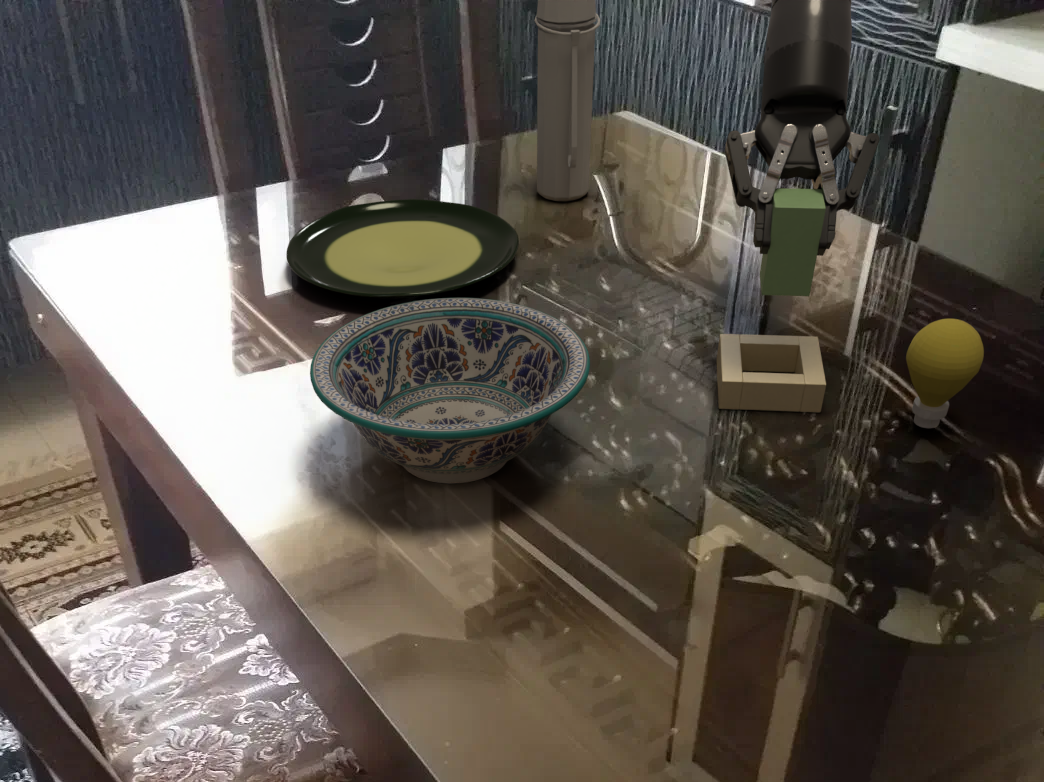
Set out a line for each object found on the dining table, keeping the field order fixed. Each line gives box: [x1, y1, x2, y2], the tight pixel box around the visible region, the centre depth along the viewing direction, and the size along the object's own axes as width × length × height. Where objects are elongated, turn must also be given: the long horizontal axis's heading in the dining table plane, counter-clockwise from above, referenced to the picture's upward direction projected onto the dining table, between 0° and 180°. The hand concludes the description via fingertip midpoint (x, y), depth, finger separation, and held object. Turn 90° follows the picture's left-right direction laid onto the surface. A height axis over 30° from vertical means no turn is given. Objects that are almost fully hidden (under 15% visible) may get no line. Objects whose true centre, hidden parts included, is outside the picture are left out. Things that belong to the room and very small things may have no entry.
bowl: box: [309, 297, 591, 484], centre depth 106 cm, size 25×25×10 cm
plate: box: [285, 198, 520, 299], centre depth 138 cm, size 28×28×2 cm
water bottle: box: [533, 0, 601, 202], centre depth 144 cm, size 9×8×25 cm
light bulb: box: [905, 318, 985, 429], centre depth 107 cm, size 7×7×10 cm
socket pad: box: [715, 333, 827, 413], centre depth 115 cm, size 10×10×3 cm
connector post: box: [759, 187, 826, 297], centre depth 106 cm, size 4×4×8 cm
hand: (793, 250), depth 104 cm, fingers closed on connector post, 4 cm apart
